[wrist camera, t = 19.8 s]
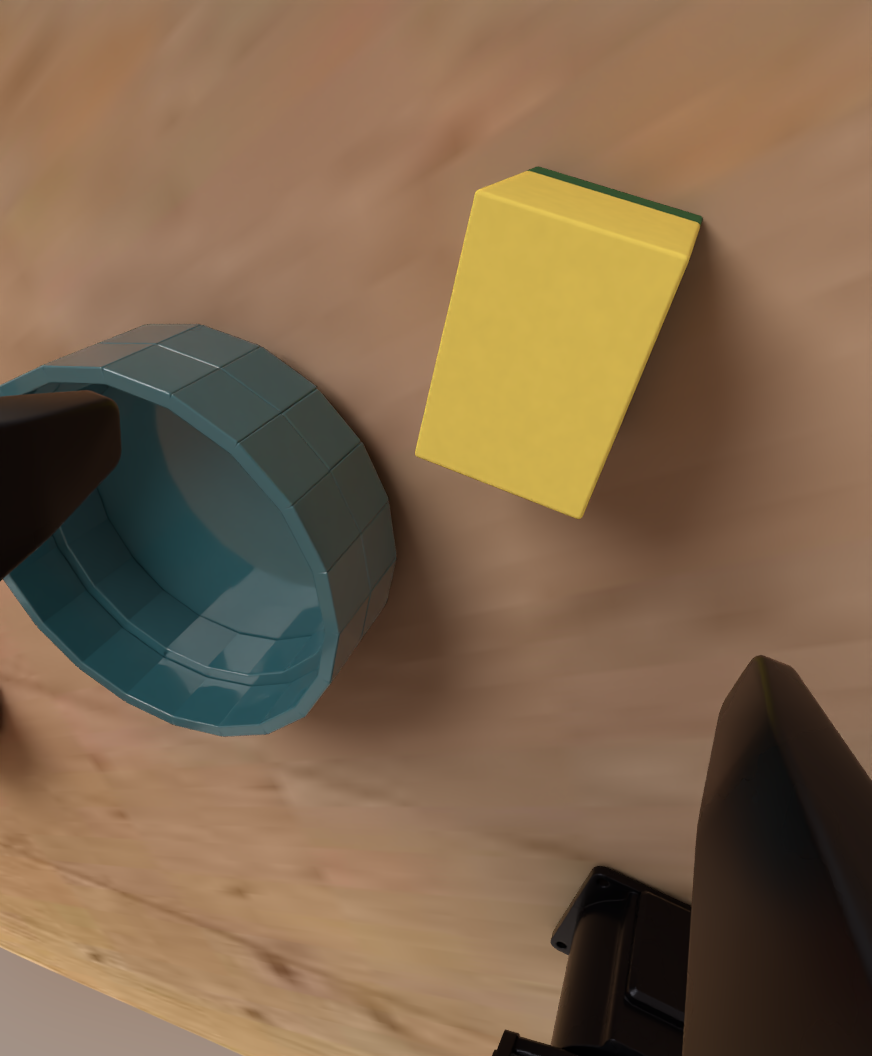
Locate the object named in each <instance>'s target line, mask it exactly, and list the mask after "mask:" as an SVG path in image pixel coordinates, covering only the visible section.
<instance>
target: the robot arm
mask: <svg viewBox="0 0 872 1056" xmlns="http://www.w3.org/2000/svg"><path fill="white" fill-rule="evenodd" d="M121 453H122V446H121V428H120V412H119V408H118V405H117V403H116V402H115V401H114V400H112V399H110V398H108V397H105V396H103V395H100V394H98V393H95V392H93V391H88V390H82V391H69V392H55V393H41V394H28V395H14V396H1V397H0V581H1V580H2V579H3V578H5V577H6V576H7V575H8V574H9V573H10V572H11V571H13V570H14V569H15V568H16V567H17V566H18V565H19V564H21V563H22V562H23V561H24V560H25V559H26V558H28V557H29V556H30V555H31V554H32V553H33V552H34V551H36V550H37V549H38V548H39V547H40V546H41V545H42V544H43V543H44V542H45V541H47V540H48V539H49V538H50V537H51V536H52V535H53V534H54V533H55V532H56V531H57V530H58V529H59V528H60V526H61V525H62V524H63V523H64V522H65V521H66V520H67V519H68V518H69V517H70V516H71V515H72V514H73V513H74V512H75V510H76V509H77V508H78V507H79V506H80V505H81V504H82V503H83V502H84V501H85V500H86V499H87V498H88V497H89V495H90V494H91V493H92V492H93V491H94V490H95V489H96V488H97V487H98V486H99V485H100V484H101V483H102V482H103V481H104V479H105V478H106V477H107V476H108V475H109V474H110V473H111V472H112V471H113V470H114V469H115V467H116V466H117V464H118V463H119V460H120V458H121ZM551 944H552V946H553V947H554V948H556V949H557V950H559V951H561V952H563V953H565V954H567V955H569V957H568V962H567V967H566V972H565V977H564V982H563V987H562V992H561V997H560V1002H559V1007H558V1011H557V1016H556V1021H555V1026H554V1031H553V1036H552V1041H551V1045H547V1044H544V1043H541V1042H537V1041H534V1040H530V1039H527V1038H523V1037H520V1035H519V1033H516V1032H512V1031H509V1030H505V1031H504V1033H503V1036H502V1038H501V1041H500V1043H499V1046H498V1049H497V1050H494V1052H493V1055H492V1056H872V780H871V779H870V778H869V776H868V775H867V773H866V772H865V770H864V769H863V768H862V766H861V765H860V763H859V762H858V760H857V759H856V757H855V756H854V755H853V753H852V752H851V750H850V749H849V747H848V746H847V744H846V743H845V742H844V740H843V739H842V737H841V736H840V734H839V733H838V731H837V730H836V729H835V727H834V726H833V724H832V723H831V721H830V720H829V718H828V717H827V716H826V714H825V713H824V711H823V710H822V708H821V707H820V705H819V704H818V703H817V701H816V700H815V698H814V697H813V695H812V694H811V692H810V691H809V690H808V688H807V687H806V685H805V684H804V682H803V681H802V679H801V678H800V677H799V675H798V674H797V672H796V671H795V670H794V669H793V668H792V667H791V666H789V665H786V664H784V663H781V662H779V661H776V660H774V659H771V658H768V657H766V656H763V655H759V656H756V657H754V658H753V659H752V660H751V661H750V663H749V664H748V665H747V667H746V668H745V670H744V671H743V673H742V674H741V676H740V677H739V679H738V680H737V682H736V684H735V685H734V687H733V688H732V690H731V691H730V693H729V694H728V696H727V697H726V699H725V701H724V703H723V705H722V707H721V710H720V713H719V717H718V722H717V727H716V732H715V737H714V742H713V747H712V752H711V757H710V762H709V767H708V772H707V777H706V783H705V788H704V793H703V798H702V803H701V808H700V814H699V820H698V825H697V836H696V847H695V863H694V878H693V894H692V907H691V906H689V905H687V904H685V903H683V902H680V901H678V900H676V899H674V898H672V897H670V896H667V895H665V894H663V893H661V892H659V891H657V890H655V889H652V888H650V887H648V886H646V885H644V884H642V883H639V882H637V881H635V880H633V879H631V878H629V877H626V876H624V875H622V874H620V873H618V872H616V871H613V870H611V869H609V868H606V867H603V866H597V867H594V868H593V869H592V870H591V872H590V874H589V875H588V877H587V878H586V880H585V882H584V883H583V885H582V886H581V888H580V890H579V891H578V893H577V894H576V896H575V897H574V899H573V901H572V902H571V904H570V905H569V907H568V909H567V910H566V912H565V913H564V915H563V916H562V918H561V920H560V921H559V923H558V924H557V926H556V928H555V929H554V931H553V934H552V938H551Z"/></svg>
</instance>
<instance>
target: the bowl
mask: <svg viewBox="0 0 872 1056" xmlns="http://www.w3.org/2000/svg"><path fill="white" fill-rule="evenodd" d="M82 390H88V391H93V392H95V393H98V394H100V395H103V396H105V397H108V398H110V399H112V400H114V401H115V402H116V403H117V405H118V408H119V412H120V428H121V446H122V453H121V458H120V460H119V463H118V464H117V466H116V467H115V469H114V470H113V471H112V472H111V473H110V474H109V475H108V476H107V477H106V478H105V479H104V481H103V482H102V483H101V484H100V485H99V486H98V487H97V488H96V489H95V490H94V491H93V492H92V493H91V494H90V495H89V497H88V498H87V499H86V500H85V501H84V502H83V503H82V504H81V505H80V506H79V507H78V508H77V509H76V510H75V512H74V513H73V514H72V515H71V516H70V517H69V518H68V519H67V520H66V521H65V522H64V523H63V524H62V525H61V526H60V528H59V529H58V530H57V531H56V532H55V533H54V534H53V535H52V536H51V537H50V538H49V539H48V540H47V541H45V542H44V543H43V544H42V545H41V546H40V547H39V548H38V549H37V550H36V551H34V552H33V553H32V554H31V555H30V556H29V557H28V558H26V559H25V560H24V561H23V562H22V563H21V564H19V565H18V566H17V567H16V568H15V569H14V570H13V571H11V572H10V573H9V574H8V575H7V576H6V577H5V578H3V580H4V582H5V583H6V584H7V586H8V587H9V589H10V590H11V591H12V593H13V594H14V596H15V597H16V598H17V600H18V601H19V603H20V604H21V605H22V607H23V608H24V610H25V611H26V612H27V614H28V615H29V617H30V618H31V619H32V621H33V622H34V624H35V625H36V626H37V627H38V628H39V629H40V630H41V631H42V632H43V633H44V634H45V635H46V636H47V637H48V638H49V639H50V640H51V641H52V642H53V643H54V644H55V645H56V646H57V647H58V648H59V649H60V650H61V651H62V652H63V653H64V654H65V655H66V656H67V657H68V658H69V659H70V660H71V661H72V662H73V663H74V664H75V665H76V666H77V667H79V669H80V670H82V671H83V672H84V673H86V674H87V675H89V676H90V677H91V678H93V679H94V680H96V681H97V682H98V683H100V684H101V685H102V686H104V687H105V688H107V689H108V690H109V691H111V692H112V693H114V694H115V695H116V696H118V697H119V698H121V699H122V700H123V701H126V702H127V703H129V704H131V705H133V706H135V707H137V708H139V709H141V710H143V711H145V712H147V713H150V714H152V715H154V716H156V717H158V718H160V719H162V720H164V721H166V722H168V723H170V724H172V725H175V726H179V727H183V728H188V729H192V730H196V731H200V732H205V733H209V734H213V735H217V736H223V737H228V736H249V735H266V734H270V733H272V732H274V731H276V730H278V729H280V728H283V727H285V726H287V725H289V724H291V723H293V722H295V721H297V720H300V719H302V718H304V717H305V716H307V714H308V713H309V712H310V710H311V709H312V708H313V706H314V705H315V704H316V702H317V701H318V700H319V699H320V697H321V696H322V695H323V693H324V692H325V691H326V689H327V688H328V687H329V685H330V684H331V683H332V681H333V680H334V678H335V677H336V675H337V674H338V673H339V671H340V670H341V668H342V667H343V665H344V664H345V662H346V661H347V660H348V658H349V657H350V655H351V654H352V652H353V651H354V650H355V648H356V647H357V645H358V644H359V642H360V641H361V640H362V638H363V637H364V635H365V634H366V632H367V631H368V629H369V628H370V627H371V625H372V624H373V622H374V621H375V619H376V618H377V617H378V615H379V614H380V612H381V611H382V609H383V608H384V607H385V605H386V603H387V599H388V595H389V590H390V586H391V582H392V577H393V573H394V568H395V564H396V559H397V557H396V547H395V540H394V533H393V526H392V518H391V511H390V504H389V502H388V501H389V498H388V496H387V494H386V492H385V490H384V487H383V485H382V483H381V481H380V479H379V476H378V474H377V472H376V470H375V468H374V466H373V463H372V461H371V459H370V457H369V455H368V452H367V450H366V448H365V446H364V444H363V442H361V441H360V439H359V437H358V436H357V435H356V434H355V433H354V431H353V430H352V429H351V428H350V427H349V425H348V424H347V423H346V422H345V420H344V419H343V418H342V417H341V416H340V414H339V413H338V412H337V411H336V409H335V408H334V407H333V406H332V405H331V403H330V402H329V401H328V400H327V399H326V397H325V396H324V395H323V394H322V392H321V391H320V390H319V389H317V386H316V385H314V384H313V383H311V382H310V381H309V380H307V379H306V378H305V377H303V376H302V375H300V374H299V373H298V372H296V371H295V370H294V369H292V368H291V367H289V366H288V365H287V364H285V363H284V362H283V361H281V360H280V359H279V358H277V357H276V356H274V355H273V354H272V353H270V352H269V351H268V350H266V349H265V348H263V347H260V346H259V345H257V344H254V343H251V342H248V341H246V340H243V339H240V338H237V337H235V336H232V335H229V334H226V333H224V332H221V331H218V330H215V329H213V328H210V327H207V326H204V325H200V324H147V325H143V326H140V327H138V328H135V329H133V330H130V331H128V332H125V333H123V334H120V335H118V336H115V337H112V338H110V339H107V340H105V341H102V342H100V343H97V344H95V345H92V346H90V347H87V348H85V349H82V350H79V351H77V352H74V353H72V354H69V355H67V356H64V357H62V358H59V359H57V360H54V361H52V362H49V363H47V364H44V365H41V366H39V367H37V368H35V369H33V370H31V371H29V372H27V373H24V374H22V375H20V376H18V377H16V378H14V379H12V380H10V381H8V382H5V383H3V384H1V385H0V397H1V396H14V395H28V394H41V393H55V392H69V391H82Z"/></svg>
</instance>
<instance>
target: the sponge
mask: <svg viewBox="0 0 872 1056" xmlns="http://www.w3.org/2000/svg"><path fill="white" fill-rule="evenodd" d="M702 220H703V218H702V217H701V216H699V215H696V214H692V213H689V212H686V211H683V210H679V209H676V208H673V207H669V206H666V205H663V204H660V203H656V202H653V201H650V200H646V199H643V198H640V197H637V196H633V195H630V194H627V193H624V192H620V191H617V190H614V189H610V188H607V187H604V186H601V185H597V184H594V183H591V182H588V181H584V180H581V179H578V178H574V177H571V176H568V175H565V174H561V173H558V172H555V171H552V170H548V169H545V168H542V167H535V168H532V169H529V170H528V171H526V172H523V173H521V174H518V175H515V176H513V177H510V178H508V179H505V180H502V181H500V182H497V183H495V184H492V185H489V186H487V187H484V188H482V189H479V190H477V191H476V193H475V196H474V200H473V205H472V209H471V213H470V218H469V222H468V226H467V230H466V235H465V239H464V243H463V248H462V252H461V256H460V261H459V265H458V269H457V274H456V278H455V282H454V286H453V291H452V295H451V299H450V304H449V308H448V312H447V317H446V321H445V325H444V330H443V334H442V338H441V342H440V347H439V351H438V355H437V360H436V364H435V368H434V373H433V377H432V381H431V386H430V390H429V394H428V398H427V403H426V407H425V411H424V416H423V420H422V424H421V429H420V433H419V437H418V442H417V446H416V450H415V455H416V456H417V457H419V458H422V459H424V460H427V461H430V462H432V463H435V464H437V465H440V466H442V467H445V468H448V469H450V470H453V471H455V472H458V473H460V474H463V475H466V476H468V477H471V478H473V479H476V480H478V481H481V482H483V483H486V484H489V485H491V486H494V487H496V488H499V489H501V490H504V491H507V492H509V493H512V494H514V495H517V496H519V497H522V498H525V499H527V500H530V501H532V502H535V503H537V504H540V505H543V506H545V507H548V508H550V509H553V510H555V511H558V512H561V513H563V514H566V515H568V516H571V517H573V518H576V519H581V518H582V517H583V514H584V512H585V510H586V507H587V505H588V502H589V500H590V498H591V495H592V493H593V490H594V488H595V486H596V483H597V481H598V478H599V476H600V474H601V471H602V469H603V466H604V464H605V462H606V459H607V457H608V454H609V452H610V450H611V447H612V445H613V442H614V440H615V438H616V435H617V433H618V430H619V428H620V425H621V423H622V421H623V418H624V416H625V413H626V411H627V409H628V406H629V404H630V401H631V399H632V397H633V394H634V392H635V389H636V387H637V385H638V382H639V380H640V377H641V375H642V373H643V370H644V368H645V365H646V363H647V361H648V358H649V356H650V353H651V351H652V349H653V346H654V344H655V341H656V339H657V337H658V334H659V332H660V329H661V327H662V325H663V322H664V320H665V317H666V315H667V313H668V310H669V308H670V305H671V303H672V301H673V298H674V296H675V293H676V291H677V289H678V286H679V284H680V281H681V279H682V277H683V274H684V272H685V269H686V267H687V264H688V262H689V259H690V256H691V253H692V250H693V247H694V244H695V241H696V238H697V235H698V232H699V229H700V226H701V223H702Z"/></svg>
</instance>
